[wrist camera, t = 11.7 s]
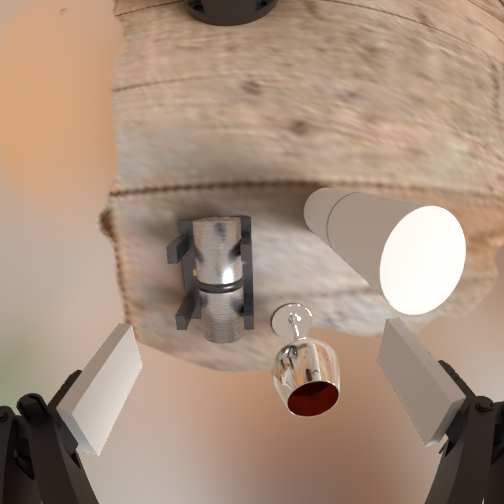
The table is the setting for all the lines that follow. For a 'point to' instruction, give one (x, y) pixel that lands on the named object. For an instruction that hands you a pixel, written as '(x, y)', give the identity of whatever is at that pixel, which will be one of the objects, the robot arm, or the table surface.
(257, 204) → the table surface
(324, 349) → the wineglass
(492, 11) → the table surface
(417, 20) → the table surface
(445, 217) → the cylindrical container
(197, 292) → the rail
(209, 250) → the tube
